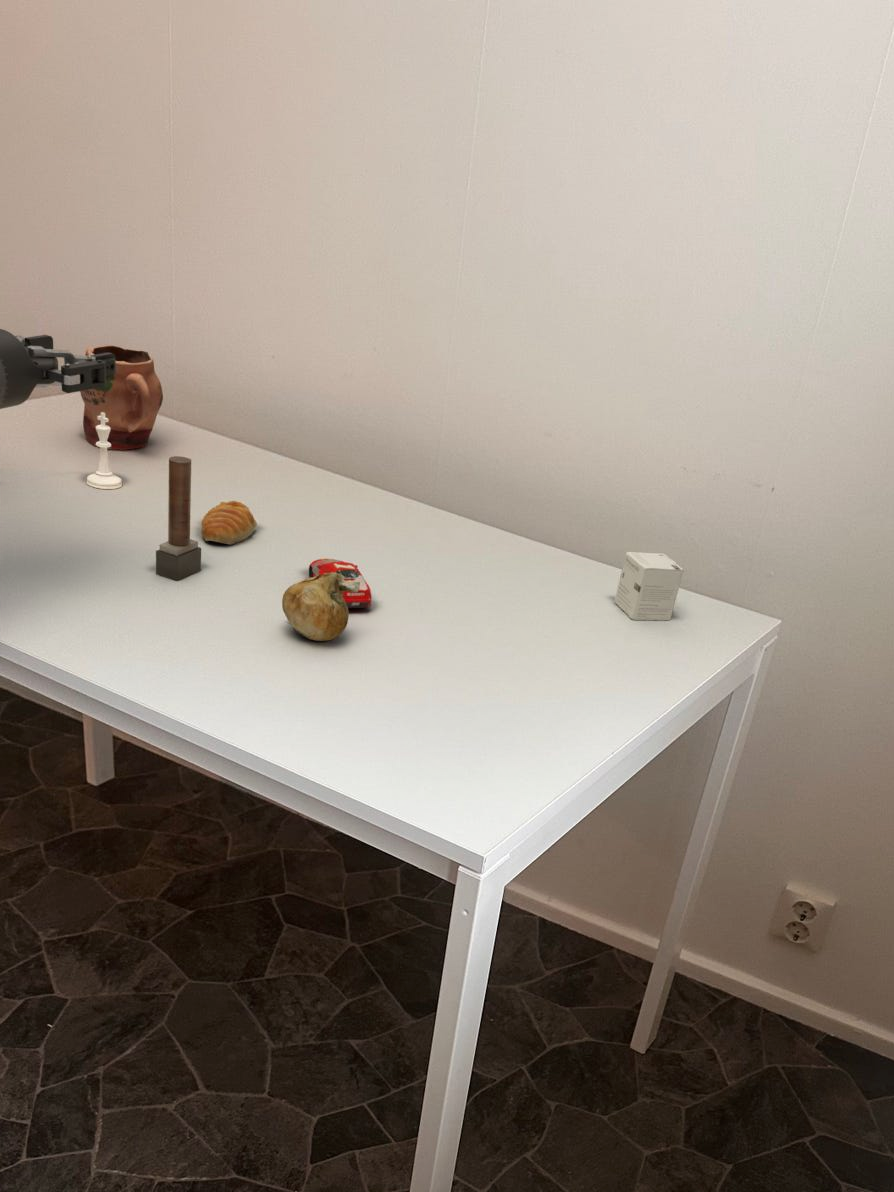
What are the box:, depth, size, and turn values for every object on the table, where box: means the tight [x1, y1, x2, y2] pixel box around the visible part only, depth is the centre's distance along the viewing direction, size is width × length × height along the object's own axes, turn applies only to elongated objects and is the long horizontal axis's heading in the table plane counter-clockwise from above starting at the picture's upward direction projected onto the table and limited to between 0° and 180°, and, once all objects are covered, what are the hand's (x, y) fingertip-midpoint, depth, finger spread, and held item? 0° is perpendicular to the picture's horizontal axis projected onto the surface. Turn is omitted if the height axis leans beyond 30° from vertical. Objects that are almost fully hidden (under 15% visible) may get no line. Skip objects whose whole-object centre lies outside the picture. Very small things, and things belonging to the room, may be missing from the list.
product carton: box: [614, 551, 684, 621], centre depth 159 cm, size 6×6×7 cm
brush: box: [155, 455, 202, 582], centre depth 144 cm, size 5×3×14 cm, turn 157°
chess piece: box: [86, 412, 123, 490], centre depth 169 cm, size 5×5×10 cm
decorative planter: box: [79, 344, 164, 450], centre depth 184 cm, size 20×12×14 cm, turn 42°
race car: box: [308, 558, 372, 609], centre depth 149 cm, size 13×5×4 cm, turn 22°
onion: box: [281, 572, 360, 642], centre depth 135 cm, size 8×8×8 cm
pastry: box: [201, 500, 258, 545], centre depth 160 cm, size 9×7×4 cm
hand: (81, 354), depth 132 cm, fingers open, 8 cm apart
